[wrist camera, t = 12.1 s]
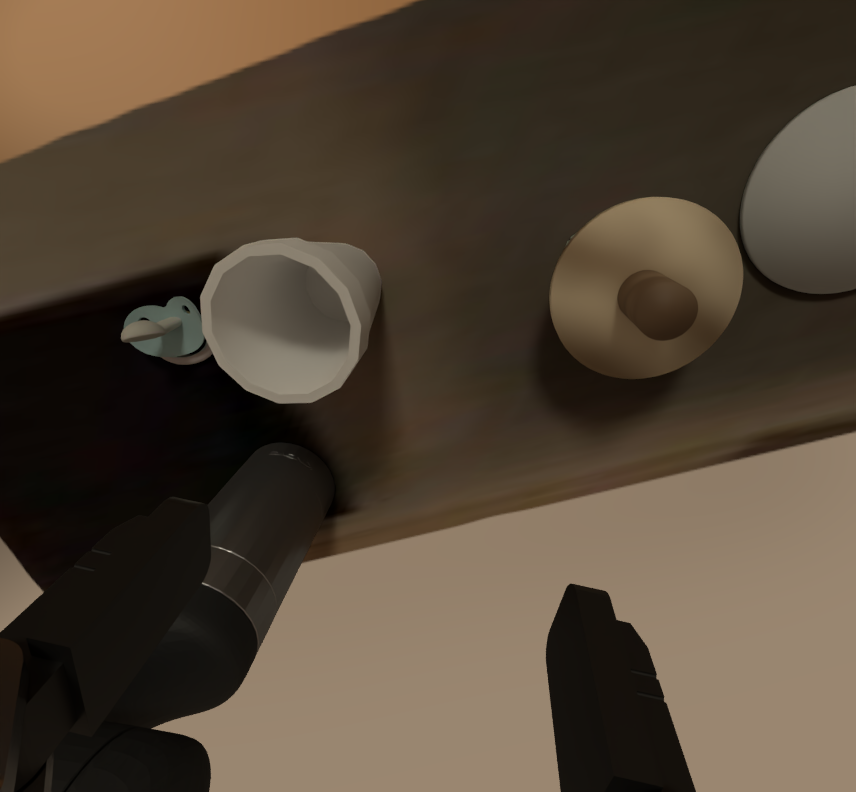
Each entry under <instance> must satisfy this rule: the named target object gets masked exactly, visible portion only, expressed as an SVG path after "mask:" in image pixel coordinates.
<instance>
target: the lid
mask: <svg viewBox="0 0 856 792" xmlns="http://www.w3.org/2000/svg"><path fill="white" fill-rule="evenodd" d="M742 284H743V265H742V258H741V254H740V251H739V248H738V245H737V243H736V241H735V239H734V237H733V235H732V233H731V232H730V230H729V229H728V228H727V226H726V225H725V224H724V223H723V222H722V221H721V220H720V219H719V218H718V217H717V216H716V215H714V214H713V213H711V212H710V211H709V210H707V209H705V208H703V207H701V206H699V205H697V204H695V203H692V202H689V201H686V200H682V199H675V198H669V197H646V198H638V199H634V200H630V201H626V202H623V203H620V204H618V205H615V206H613V207H611V208H609V209H607V210H605V211H603V212H601V213H600V214H598V215H597V216H595V217H594V218H593V219H591V220H590V221H589V222H587V223H586V224H585V225H584V226H583V227H582V228H581V229H580V230H579V231H578V232H577V233H576V234H575V235H574V236H573V237H572V238H571V240H570V241H569V243H568V244H567V245H566V247H565V248H564V250H563V252H562V253H561V255H560V257H559V259H558V261H557V264H556V266H555V269H554V271H553V275H552V279H551V283H550V291H549V307H550V313H551V318H552V321H553V324H554V327H555V330H556V332H557V334H558V336H559V338H560V340H561V342H562V343H563V345H564V346H565V348H566V349H567V350H568V351H569V352H570V354H571V355H572V356H573V357H574V358H575V359H577V360H578V361H579V362H580V363H581V364H583V365H585V366H586V367H588V368H589V369H591V370H593V371H596V372H598V373H600V374H603V375H607V376H610V377H615V378H621V379H643V378H650V377H655V376H659V375H662V374H666V373H669V372H671V371H674V370H676V369H679V368H681V367H682V366H684V365H686V364H688V363H690V362H691V361H693V360H694V359H696V358H697V357H699V356H700V355H701V354H702V353H704V352H705V351H706V350H707V349H708V348H709V347H710V346H711V345H712V344H713V343H714V342H715V341H716V340H717V339H718V338H719V337H720V335H721V334H722V333H723V331H724V330H725V329H726V327H727V326H728V324H729V322H730V320H731V319H732V317H733V315H734V312H735V310H736V308H737V305H738V302H739V299H740V295H741V291H742Z"/></svg>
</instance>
